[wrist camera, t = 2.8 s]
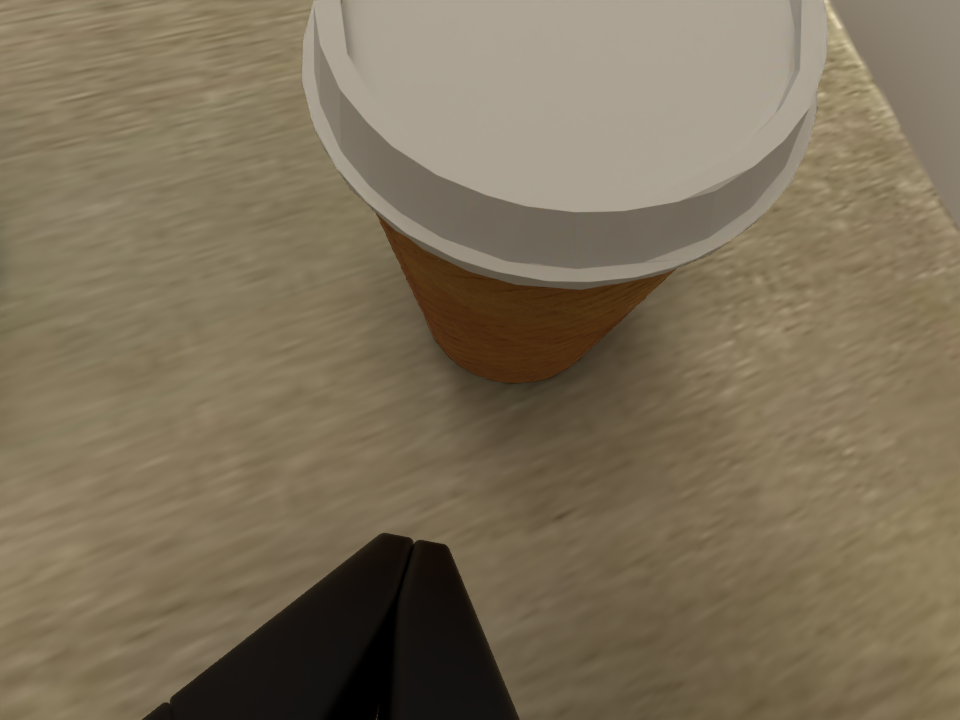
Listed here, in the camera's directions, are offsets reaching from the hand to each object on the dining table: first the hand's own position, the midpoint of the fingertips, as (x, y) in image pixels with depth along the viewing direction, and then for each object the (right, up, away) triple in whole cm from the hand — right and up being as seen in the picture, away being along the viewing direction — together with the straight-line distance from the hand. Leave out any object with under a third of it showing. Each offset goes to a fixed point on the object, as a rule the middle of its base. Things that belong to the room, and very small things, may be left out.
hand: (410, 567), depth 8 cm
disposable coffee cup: (+2, +5, +14) cm, 15 cm away
